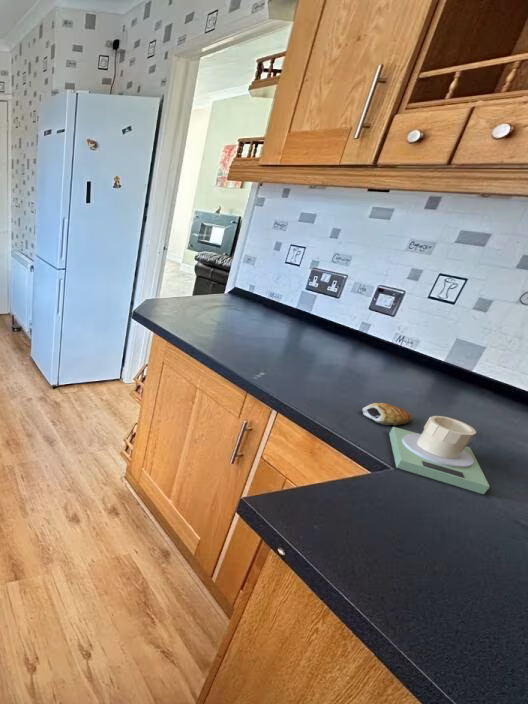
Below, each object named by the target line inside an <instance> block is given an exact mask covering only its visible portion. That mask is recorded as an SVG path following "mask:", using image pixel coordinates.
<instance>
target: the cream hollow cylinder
mask: <svg viewBox="0 0 528 704" xmlns="http://www.w3.org/2000/svg"><path fill="white" fill-rule="evenodd" d="M420 434H421V435H420V437H419V438H418V440H417V444H418V446H419V447H421V448H422V449H423V450H425V451H427V452H429V453H431V454H434V455H436V456H440V457H443V458H449V459H455V458H458V457H459V455H460V454H461V453H462V451H463V450H464V448H465V447H466V446H467V445H469V444H470V443H471V442H472V440H473V439H474V437H475V436H476V434H477V431H476V429H475V428H474V427H472V426H471V425H469V424H468V423H466V422H463V421H461V420H458V419H455V418H452V417H448V416H443V415H433V416H430V417H428V420H427V421H426V423H425V424H424V426H423V430H422V432H421V433H420Z"/></svg>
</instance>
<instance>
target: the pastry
mask: <svg viewBox="0 0 528 704" xmlns="http://www.w3.org/2000/svg"><path fill="white" fill-rule="evenodd" d="M361 412H362V415H363V416H365V417H366V418H368V419H370V420H373V421H374V422H375V423H378V424H381V425H382V426H383V425H384V426H391V425H392V426H400V425H404V424H405V425H406V424H407V423H408V422H409V421H410V420H411V419H412V418H411V417H412V415H411V414H410V413H409V412H408V411H406V410H405V409H404V408H402V407H398V406H397V405H393V404H389V403H385V402H373V403H370V404H367V405H366V406H365V407H362V411H361Z"/></svg>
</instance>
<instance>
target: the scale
mask: <svg viewBox="0 0 528 704" xmlns="http://www.w3.org/2000/svg"><path fill="white" fill-rule="evenodd" d="M420 435H421V433H418V432H415V431H410V430H407V429H404V428H400V427H397V426H392V427H391V429H390V430H389V433H388V436H389V440H390V444H391V445H390V446H391V449H392V454H393V459H394V463H395V467H396V469H399V470H403V471H405V472H409V473H413V474H415V475H419V476H422V477H426V478H429V479H432V480H435V481H438V482H442V483H445V484H448V485H452V486H454V487H458V488H461V489H465V490H468V491H471V492H473V493H474V492H475V493H477V494H481V495H485V494H486V492H487V491H488V490H489V489H490V487H491V486H490V484H489V482H488V480H487V478H486V476H485V474H484V472H483V470H482V468H481V466H480V464H479V462H478V460H477V458H476V456H475V454H474V452H473V450H472V449H471V447H470V446H467V445H466V447H465V448H464V450H463V451H462V453H461V454H460V455H459V457H458V458H455V459H449V458H443V457H440V456H436V455H434V454H431V453H429V452H427V451H425V450H423V449H422V448H421V447H419V446H418V444H417V440H418V438H419V437H420Z"/></svg>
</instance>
